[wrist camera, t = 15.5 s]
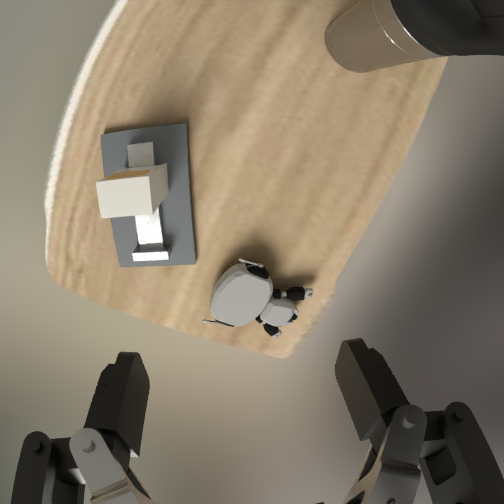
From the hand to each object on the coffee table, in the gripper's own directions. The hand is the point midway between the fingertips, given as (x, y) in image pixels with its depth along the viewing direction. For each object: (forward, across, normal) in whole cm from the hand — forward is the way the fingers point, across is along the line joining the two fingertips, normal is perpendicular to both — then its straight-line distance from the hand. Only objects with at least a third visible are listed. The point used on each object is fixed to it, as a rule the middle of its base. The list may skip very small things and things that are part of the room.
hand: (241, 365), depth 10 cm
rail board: (+30, +11, +1) cm, 32 cm away
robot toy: (+30, -4, +18) cm, 35 cm away
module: (+29, +11, -2) cm, 31 cm away
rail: (+30, +11, +1) cm, 32 cm away
